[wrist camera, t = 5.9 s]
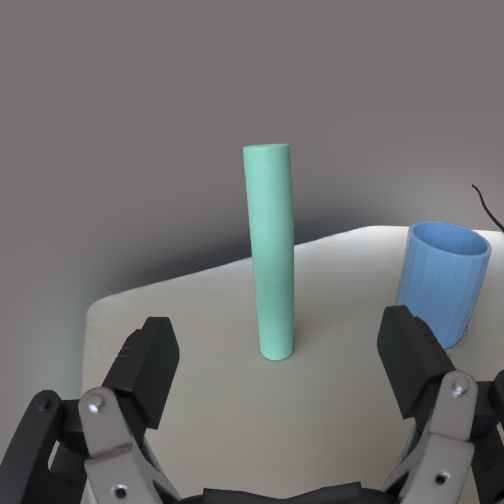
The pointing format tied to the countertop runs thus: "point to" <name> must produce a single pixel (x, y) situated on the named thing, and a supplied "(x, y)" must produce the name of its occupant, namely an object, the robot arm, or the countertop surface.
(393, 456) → the countertop surface
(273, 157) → the mint green tapered cylinder
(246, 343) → the countertop surface
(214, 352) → the countertop surface
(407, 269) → the cup
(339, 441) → the countertop surface
